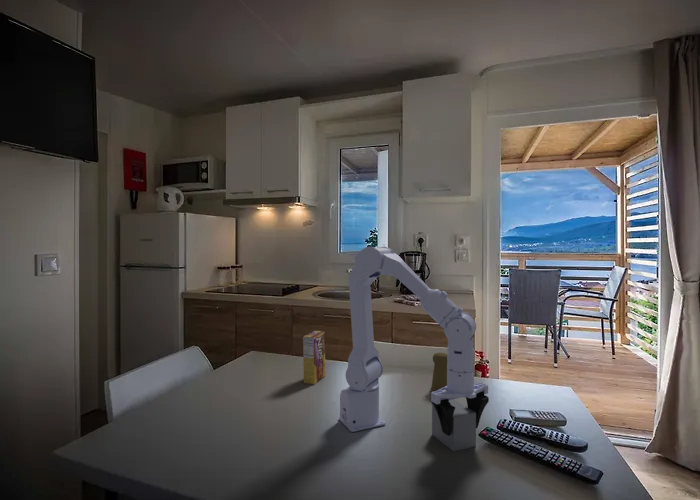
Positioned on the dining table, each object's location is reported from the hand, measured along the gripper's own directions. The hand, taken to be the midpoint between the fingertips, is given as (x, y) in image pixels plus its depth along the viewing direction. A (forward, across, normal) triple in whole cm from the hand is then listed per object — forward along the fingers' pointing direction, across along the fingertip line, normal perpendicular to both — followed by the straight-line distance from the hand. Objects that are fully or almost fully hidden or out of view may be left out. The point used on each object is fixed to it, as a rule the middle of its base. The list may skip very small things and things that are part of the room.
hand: (460, 429), depth 84 cm
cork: (+4, +18, +29) cm, 34 cm away
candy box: (+4, -15, +53) cm, 55 cm away
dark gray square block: (+3, 0, +2) cm, 4 cm away
